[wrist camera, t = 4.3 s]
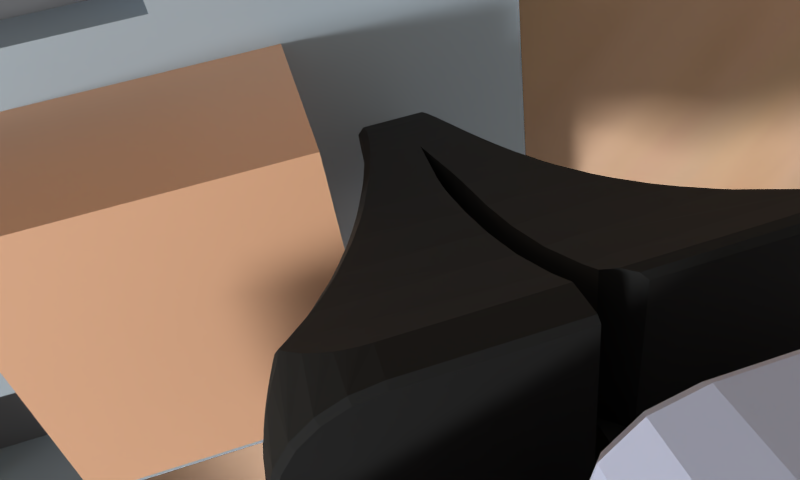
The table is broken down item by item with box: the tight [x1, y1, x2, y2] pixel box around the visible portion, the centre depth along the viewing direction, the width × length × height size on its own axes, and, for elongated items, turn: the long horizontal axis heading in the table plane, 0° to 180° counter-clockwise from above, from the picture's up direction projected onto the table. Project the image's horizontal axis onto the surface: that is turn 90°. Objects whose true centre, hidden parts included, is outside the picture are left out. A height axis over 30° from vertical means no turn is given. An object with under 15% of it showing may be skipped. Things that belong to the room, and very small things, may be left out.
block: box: [0, 44, 345, 480], centre depth 10 cm, size 4×4×4 cm
